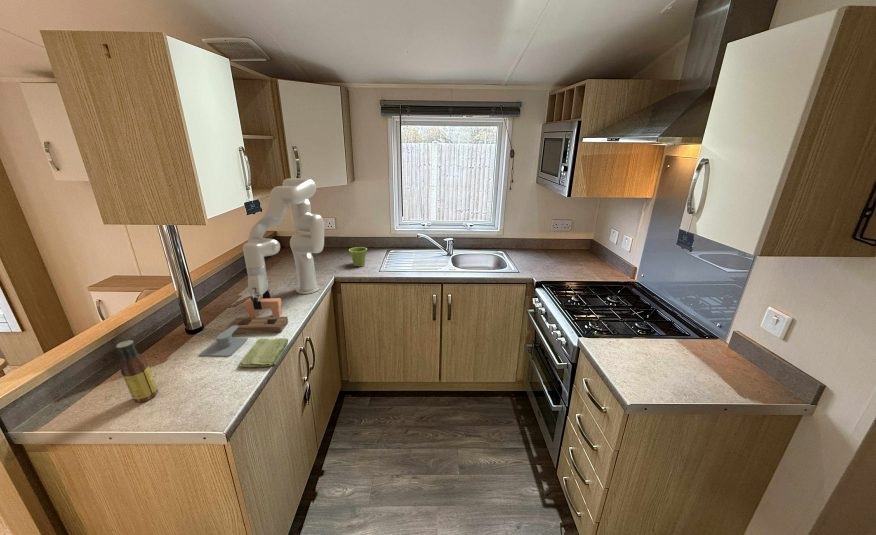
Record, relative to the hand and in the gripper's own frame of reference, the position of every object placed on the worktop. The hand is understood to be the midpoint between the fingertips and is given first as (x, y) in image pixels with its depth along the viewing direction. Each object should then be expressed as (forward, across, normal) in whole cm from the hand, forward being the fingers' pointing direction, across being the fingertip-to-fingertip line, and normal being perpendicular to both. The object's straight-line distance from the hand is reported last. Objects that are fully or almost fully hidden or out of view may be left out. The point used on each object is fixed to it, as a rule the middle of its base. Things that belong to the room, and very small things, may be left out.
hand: (262, 304), depth 155 cm
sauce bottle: (+7, +54, -15) cm, 56 cm away
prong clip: (+6, 0, 0) cm, 6 cm away
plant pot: (+5, -70, +33) cm, 78 cm away
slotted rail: (+6, +12, +2) cm, 13 cm away
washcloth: (+7, +32, +14) cm, 36 cm away
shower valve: (+7, +25, -5) cm, 26 cm away
